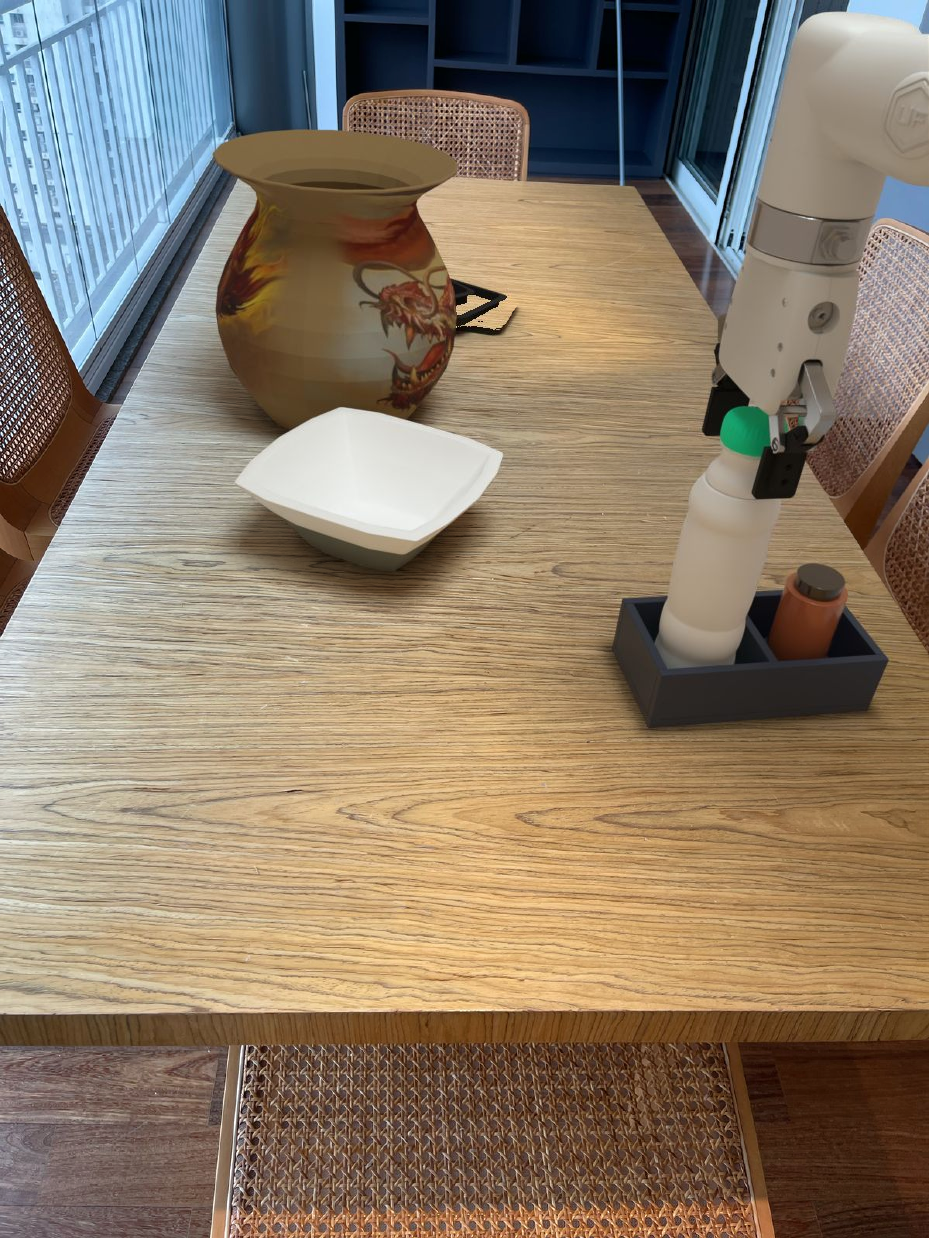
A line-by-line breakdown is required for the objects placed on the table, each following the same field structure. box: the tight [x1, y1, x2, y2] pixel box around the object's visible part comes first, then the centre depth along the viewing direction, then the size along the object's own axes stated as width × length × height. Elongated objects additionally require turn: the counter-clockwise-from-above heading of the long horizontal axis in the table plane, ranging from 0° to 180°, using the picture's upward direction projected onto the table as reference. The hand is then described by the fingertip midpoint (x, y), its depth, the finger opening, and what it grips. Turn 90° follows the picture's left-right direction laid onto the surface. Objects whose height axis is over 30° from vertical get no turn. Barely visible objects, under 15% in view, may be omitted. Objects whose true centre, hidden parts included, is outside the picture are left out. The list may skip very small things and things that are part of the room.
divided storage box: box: [611, 589, 890, 729], centre depth 89 cm, size 11×20×6 cm, turn 100°
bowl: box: [234, 407, 504, 573], centre depth 102 cm, size 22×23×8 cm
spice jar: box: [766, 562, 849, 661], centre depth 88 cm, size 5×5×10 cm
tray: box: [450, 277, 507, 336], centre depth 155 cm, size 30×23×5 cm
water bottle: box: [654, 405, 789, 669], centre depth 81 cm, size 7×7×25 cm
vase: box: [212, 129, 458, 431], centre depth 120 cm, size 29×29×30 cm
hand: (745, 464), depth 76 cm, fingers open, 9 cm apart
